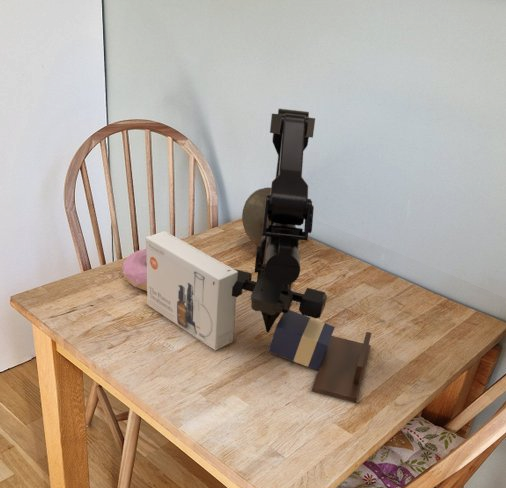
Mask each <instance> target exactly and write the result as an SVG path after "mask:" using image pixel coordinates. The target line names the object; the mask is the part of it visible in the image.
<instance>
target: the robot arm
mask: <svg viewBox="0 0 506 488" xmlns="http://www.w3.org/2000/svg"><path fill="white" fill-rule="evenodd" d="M309 115H310V112H309V111H303V110H296V109H287V108H278V110H277V113H271V115H270V116H271V118H270V127H269V133H270V134H272V144H273V147H274V149H275V151H276V153H277V161H276V162H277V163H276V171H275V178H274V179H273V180H272V181H271V187H270V188H271V193H270V195H269V194H266V202H265V211H264V221H263V232H262V238H261V246H257V245H256V254H255V262H254V273H257V276H256V281H255V280H252V279H253V274H252V272H248V271H245V270H241V269H236V268H233V269H234V270H236V271H238V277H237V281H236V283H235V284H234V286H233V287H232V296H234V297H236V298H238V297H240V296H241V295H242V294H243V290H244V291H247V292H248V291H249V292H251V298H250V300H251V301H250V302H251V303H250V304H251V305H250V306H251V307H250V308H251V310H253V311H255V312H260V313H261V315H262V318H263V324H264V326H265V331H266V333H270V331H271V329H272V328H273V326H274V324H275V322H276V320H277V319H278V317H279V316H280V315H282V314H283V313H288V311H289V310H291V308H292V306H293V304H297V305H299V306H298V311H299V312H300V314H302V315H305V316H307V317H310V318H313V319H320V318H321V316H322V314H323V311H324V310H325V307H326V304H327V300H328V295H327V294H326V292H325V291H322V290H319V289H314V288H310V287H306V289H305V291H304V293H301V292H298V291H296V290H295V289H294V288H293V289H292V285H293V283H295V282H296V281H297V279H298V278H299V276H300V274H301V258H300V256H301V255H300V249H299V247H300V241H305V242H306V241H307V242H308V240H309V234H311V233H312V232H313V223H314V222H313V221H314V210H315V209H314V207H315V206H314V204H313V201H312V199H311V198H309V185H308V183H307V182H306V180H305V179H304V178H303V162H304V151H305V150H306V148H307V147H308V145H309V138H314V132H315V125H316V118H315V117H309ZM267 215H268V221H270V225H269V227H268V228H266V224H267ZM303 224H304V227H303V228H302V227H301V226H302V225H303ZM298 226H300V227H301V228H300V227H298Z"/></svg>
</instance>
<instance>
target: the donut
mask: <svg viewBox="0 0 506 488" xmlns="http://www.w3.org/2000/svg"><path fill="white" fill-rule="evenodd" d="M121 270H122V272H123V279H124V280H125V281H126V282H128V283H129V284H130V285H132V286H133V287H135V288H137V289H140V290H142V291H146V292H147V256H146V248H145V249H139V250H136V251H134V252H132V253H131V254H129V255H128V257H126V259H125V260H124V261H123V263H122V266H121Z"/></svg>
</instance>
